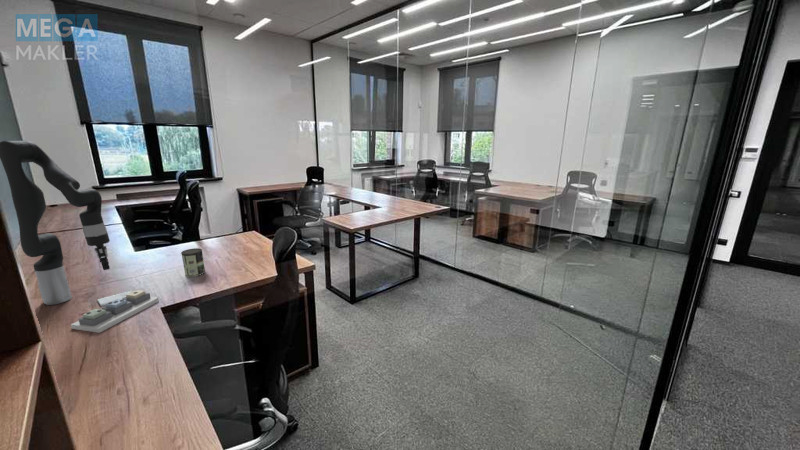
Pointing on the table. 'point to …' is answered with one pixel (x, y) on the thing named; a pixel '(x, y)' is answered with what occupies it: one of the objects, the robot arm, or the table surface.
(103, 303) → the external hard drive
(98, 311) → the button two
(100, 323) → the button panel
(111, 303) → the button three
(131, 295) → the button one
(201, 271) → the coffee can
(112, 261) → the table surface
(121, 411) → the table surface
